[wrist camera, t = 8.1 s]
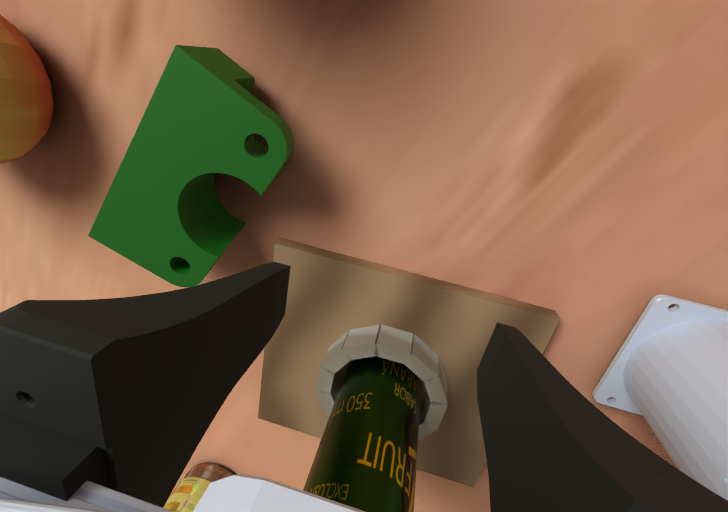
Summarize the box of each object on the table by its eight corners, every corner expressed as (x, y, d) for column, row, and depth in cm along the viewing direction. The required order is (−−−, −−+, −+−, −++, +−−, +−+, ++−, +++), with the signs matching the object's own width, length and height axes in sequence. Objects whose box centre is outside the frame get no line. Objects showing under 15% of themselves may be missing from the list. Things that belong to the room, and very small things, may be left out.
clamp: (255, 212, 27) (185, 305, 22) (185, 163, 26) (87, 250, 20) (333, 98, 19) (251, 200, 13) (235, 14, 17) (91, 88, 11)
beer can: (386, 417, 26) (349, 634, 15) (332, 373, 26) (254, 566, 15) (438, 381, 24) (437, 603, 13) (380, 331, 24) (329, 522, 13)
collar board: (555, 310, 22) (571, 339, 19) (472, 475, 28) (476, 514, 26) (280, 238, 23) (259, 255, 21) (263, 408, 30) (246, 438, 27)
